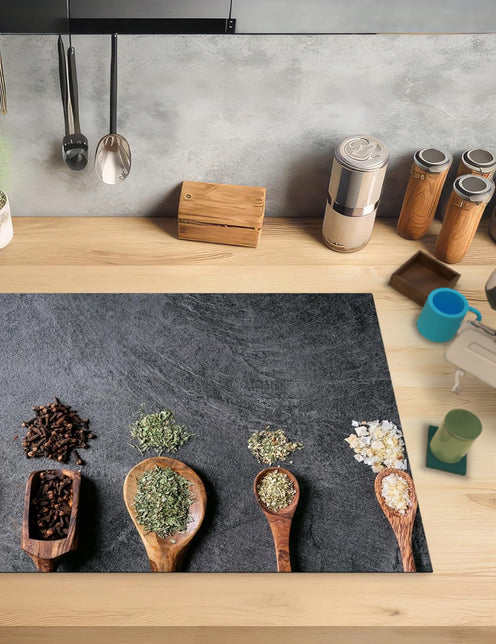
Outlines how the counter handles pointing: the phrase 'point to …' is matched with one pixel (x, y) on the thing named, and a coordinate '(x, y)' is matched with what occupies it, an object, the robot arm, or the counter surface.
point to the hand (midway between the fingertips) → (477, 407)
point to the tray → (422, 277)
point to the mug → (444, 314)
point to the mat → (439, 465)
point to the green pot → (455, 435)
